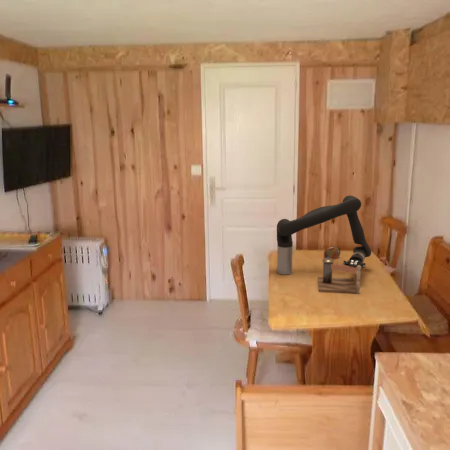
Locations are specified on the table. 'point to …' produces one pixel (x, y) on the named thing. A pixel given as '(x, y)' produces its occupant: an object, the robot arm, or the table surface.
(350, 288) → the base
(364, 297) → the table surface
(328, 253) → the tin
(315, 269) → the table surface
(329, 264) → the capstan
